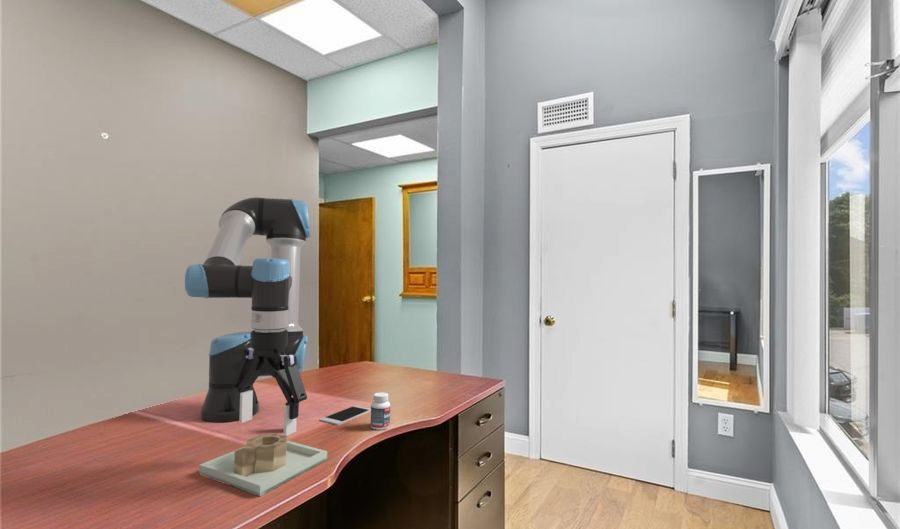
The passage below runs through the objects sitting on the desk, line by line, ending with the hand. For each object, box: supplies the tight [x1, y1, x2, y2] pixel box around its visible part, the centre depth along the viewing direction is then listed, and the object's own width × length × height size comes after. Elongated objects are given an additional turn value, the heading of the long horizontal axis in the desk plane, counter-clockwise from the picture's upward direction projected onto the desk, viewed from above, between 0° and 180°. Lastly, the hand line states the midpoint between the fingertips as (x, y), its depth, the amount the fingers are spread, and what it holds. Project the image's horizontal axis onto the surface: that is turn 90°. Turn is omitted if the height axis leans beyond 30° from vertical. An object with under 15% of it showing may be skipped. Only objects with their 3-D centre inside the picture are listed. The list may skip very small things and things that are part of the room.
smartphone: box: [319, 404, 371, 426], centre depth 128 cm, size 7×16×1 cm, turn 152°
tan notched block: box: [234, 432, 288, 477], centre depth 92 cm, size 11×8×5 cm
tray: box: [198, 440, 328, 497], centre depth 94 cm, size 18×18×2 cm
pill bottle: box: [370, 391, 391, 431], centre depth 119 cm, size 5×5×9 cm
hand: (267, 427), depth 94 cm, fingers open, 13 cm apart
